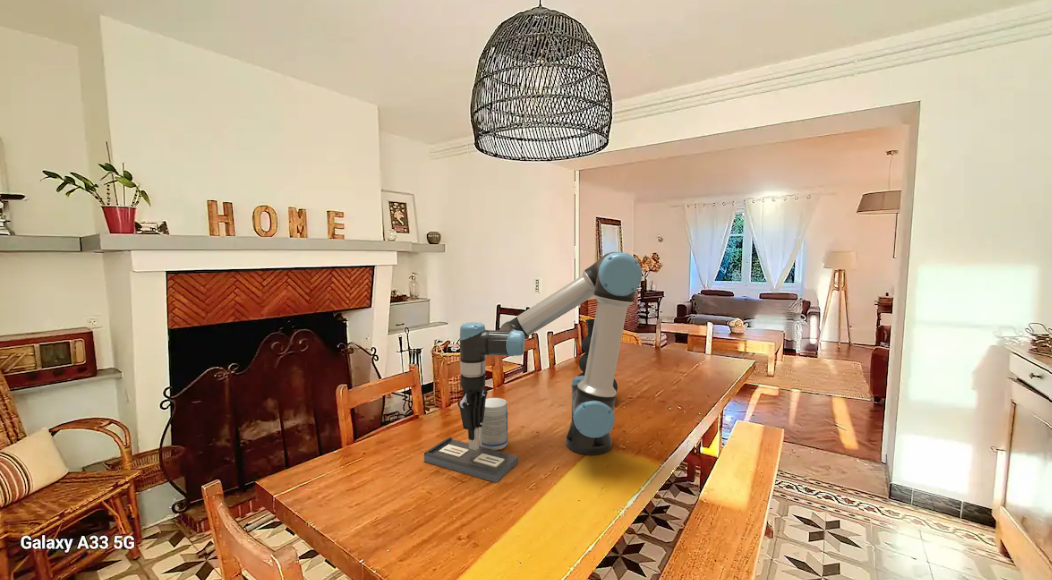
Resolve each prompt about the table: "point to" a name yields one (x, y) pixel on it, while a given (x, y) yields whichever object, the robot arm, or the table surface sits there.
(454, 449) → the label
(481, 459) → the label
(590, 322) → the vase
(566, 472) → the table surface
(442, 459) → the label board
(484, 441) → the supplement tub
